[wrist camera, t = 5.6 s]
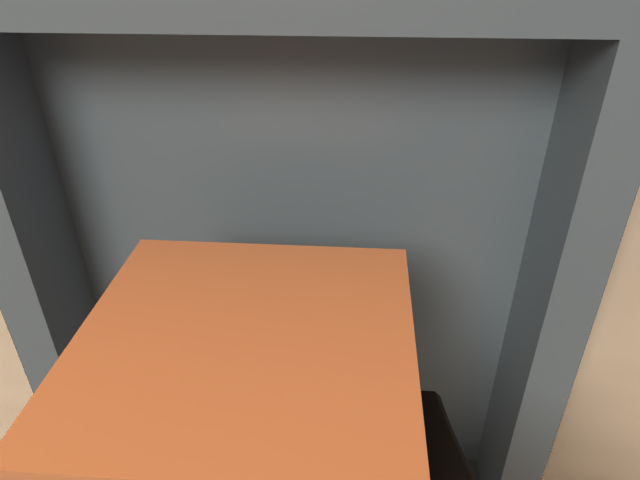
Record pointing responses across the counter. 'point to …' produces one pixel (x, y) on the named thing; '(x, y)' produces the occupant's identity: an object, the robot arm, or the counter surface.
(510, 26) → the slate tray
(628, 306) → the counter surface
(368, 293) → the orange block
